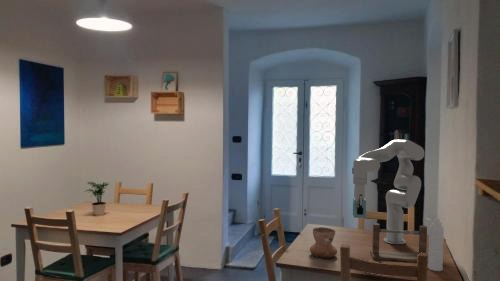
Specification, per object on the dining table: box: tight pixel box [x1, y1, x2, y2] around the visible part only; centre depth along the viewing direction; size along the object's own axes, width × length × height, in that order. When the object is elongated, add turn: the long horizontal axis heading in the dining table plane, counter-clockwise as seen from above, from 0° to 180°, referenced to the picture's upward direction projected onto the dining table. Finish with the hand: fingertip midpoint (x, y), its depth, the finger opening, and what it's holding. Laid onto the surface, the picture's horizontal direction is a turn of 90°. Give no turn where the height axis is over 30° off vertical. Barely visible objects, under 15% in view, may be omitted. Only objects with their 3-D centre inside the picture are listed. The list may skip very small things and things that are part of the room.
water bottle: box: [424, 217, 445, 272], centre depth 198 cm, size 9×6×25 cm
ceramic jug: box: [309, 226, 338, 259], centre depth 217 cm, size 18×14×14 cm
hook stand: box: [369, 222, 428, 263], centre depth 215 cm, size 12×28×18 cm, turn 82°
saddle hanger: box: [352, 197, 367, 219], centre depth 226 cm, size 6×6×10 cm
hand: (359, 212), depth 226 cm, fingers closed on saddle hanger, 6 cm apart
